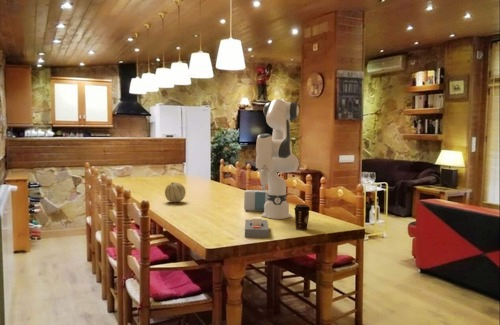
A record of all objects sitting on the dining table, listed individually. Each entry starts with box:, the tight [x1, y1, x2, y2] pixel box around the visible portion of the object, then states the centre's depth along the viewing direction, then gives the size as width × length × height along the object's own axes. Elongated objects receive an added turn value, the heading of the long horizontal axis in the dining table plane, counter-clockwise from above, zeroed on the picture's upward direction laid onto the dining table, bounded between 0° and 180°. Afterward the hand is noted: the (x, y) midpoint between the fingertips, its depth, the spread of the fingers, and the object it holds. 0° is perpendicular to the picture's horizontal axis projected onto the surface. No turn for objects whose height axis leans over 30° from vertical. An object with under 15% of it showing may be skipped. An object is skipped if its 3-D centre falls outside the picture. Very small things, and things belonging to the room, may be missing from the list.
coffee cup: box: [293, 204, 311, 231], centre depth 225 cm, size 9×8×13 cm
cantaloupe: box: [164, 181, 186, 203], centre depth 297 cm, size 15×15×15 cm
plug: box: [251, 216, 263, 226], centre depth 217 cm, size 4×5×7 cm
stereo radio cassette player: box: [243, 185, 268, 212], centre depth 274 cm, size 21×8×20 cm, turn 89°
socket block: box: [244, 219, 270, 239], centre depth 217 cm, size 22×12×5 cm, turn 0°
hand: (263, 190), depth 219 cm, fingers closed
